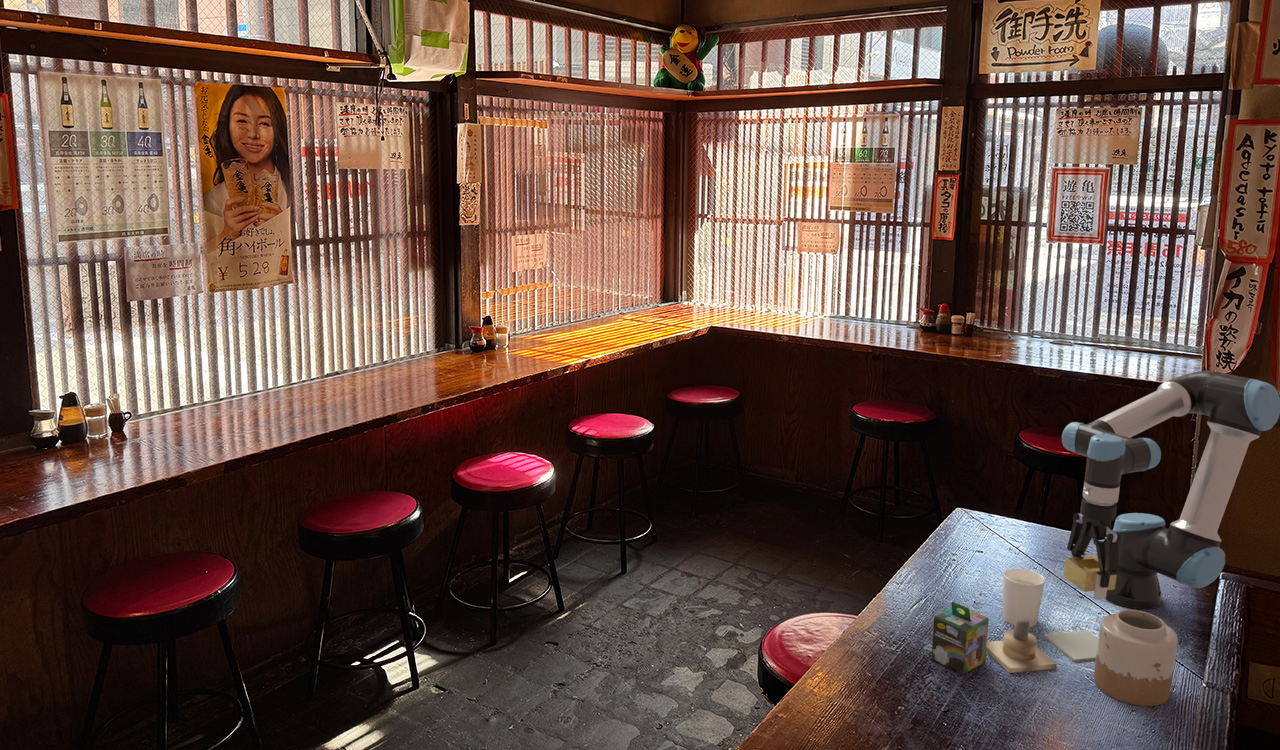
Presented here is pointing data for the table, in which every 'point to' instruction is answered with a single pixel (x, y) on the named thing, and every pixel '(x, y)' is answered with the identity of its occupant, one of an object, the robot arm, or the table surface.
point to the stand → (1019, 650)
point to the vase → (1135, 658)
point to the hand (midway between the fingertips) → (1087, 590)
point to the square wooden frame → (1084, 573)
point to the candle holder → (1022, 595)
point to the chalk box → (960, 638)
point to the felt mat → (1075, 644)
